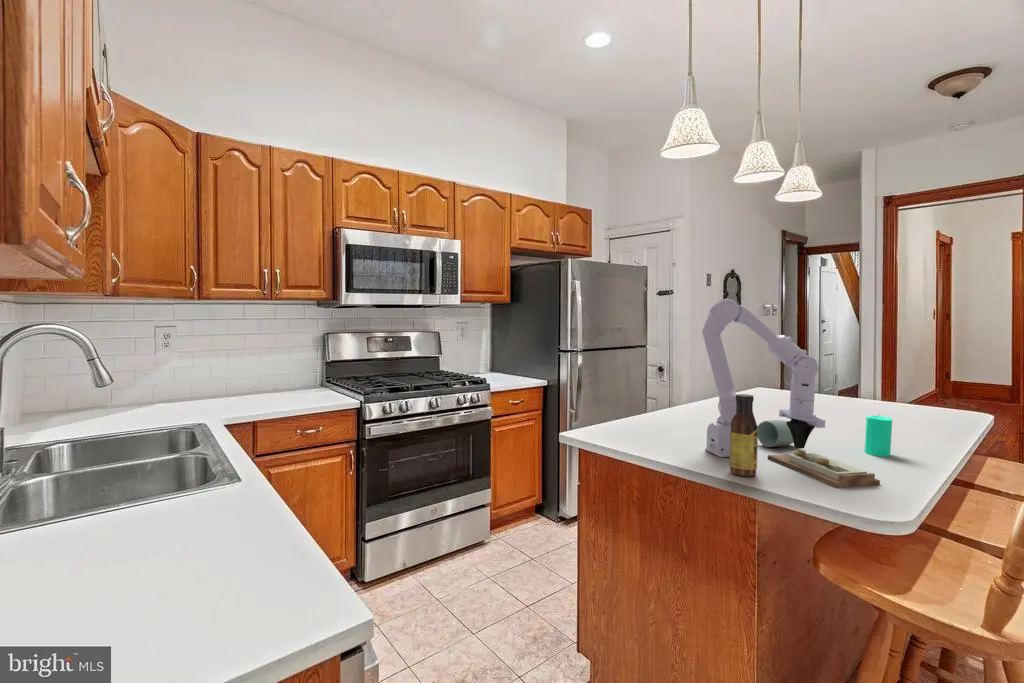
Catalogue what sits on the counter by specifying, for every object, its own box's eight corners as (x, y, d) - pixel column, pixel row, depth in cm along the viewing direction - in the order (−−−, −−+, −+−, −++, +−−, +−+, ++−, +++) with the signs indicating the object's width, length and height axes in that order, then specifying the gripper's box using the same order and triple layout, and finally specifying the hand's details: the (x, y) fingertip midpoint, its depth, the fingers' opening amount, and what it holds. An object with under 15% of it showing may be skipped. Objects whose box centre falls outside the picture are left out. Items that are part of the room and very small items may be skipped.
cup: (795, 416, 153) (771, 416, 149) (806, 440, 150) (782, 442, 146) (775, 425, 159) (752, 426, 155) (785, 448, 156) (762, 450, 152)
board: (836, 487, 117) (837, 472, 117) (767, 458, 139) (768, 445, 139) (879, 484, 119) (880, 469, 119) (805, 456, 142) (805, 443, 141)
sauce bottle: (759, 478, 123) (762, 397, 122) (732, 476, 124) (735, 396, 123) (752, 470, 129) (755, 393, 128) (726, 468, 130) (729, 392, 129)
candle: (881, 451, 148) (884, 410, 147) (895, 457, 142) (897, 414, 141) (860, 450, 148) (862, 410, 148) (872, 456, 142) (874, 414, 142)
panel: (837, 480, 119) (838, 473, 119) (788, 460, 134) (788, 454, 134) (866, 478, 120) (866, 471, 120) (814, 458, 136) (814, 452, 136)
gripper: (836, 403, 132) (833, 454, 133) (795, 394, 146) (792, 440, 147) (813, 404, 130) (810, 455, 131) (773, 394, 145) (771, 441, 146)
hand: (799, 447), depth 139 cm, fingers closed
